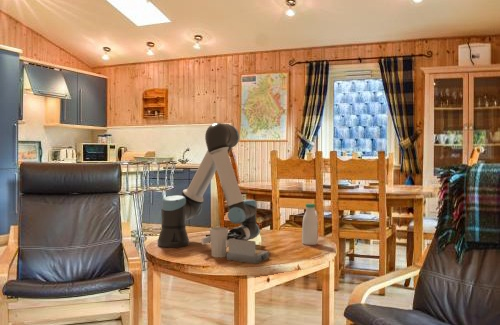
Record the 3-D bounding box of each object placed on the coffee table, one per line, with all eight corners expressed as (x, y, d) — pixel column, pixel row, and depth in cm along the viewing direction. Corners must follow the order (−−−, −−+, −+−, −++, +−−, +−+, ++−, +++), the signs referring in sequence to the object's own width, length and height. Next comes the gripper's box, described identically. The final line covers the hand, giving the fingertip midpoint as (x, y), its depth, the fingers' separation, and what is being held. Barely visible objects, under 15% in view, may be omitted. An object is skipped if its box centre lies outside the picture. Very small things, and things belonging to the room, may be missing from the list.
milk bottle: (317, 245, 236) (317, 204, 236) (301, 244, 238) (301, 204, 237) (318, 242, 244) (318, 203, 243) (302, 242, 245) (303, 202, 245)
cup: (231, 256, 212) (231, 228, 211) (217, 258, 206) (217, 230, 206) (219, 253, 217) (219, 226, 217) (205, 255, 212) (206, 228, 212)
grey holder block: (226, 259, 204) (226, 238, 204) (240, 254, 215) (240, 234, 214) (257, 264, 197) (257, 242, 197) (269, 258, 208) (269, 237, 208)
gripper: (261, 245, 222) (238, 254, 203) (217, 240, 233) (191, 248, 214) (261, 229, 222) (238, 236, 203) (217, 224, 233) (191, 231, 214)
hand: (214, 242), depth 208 cm, fingers open, 11 cm apart
